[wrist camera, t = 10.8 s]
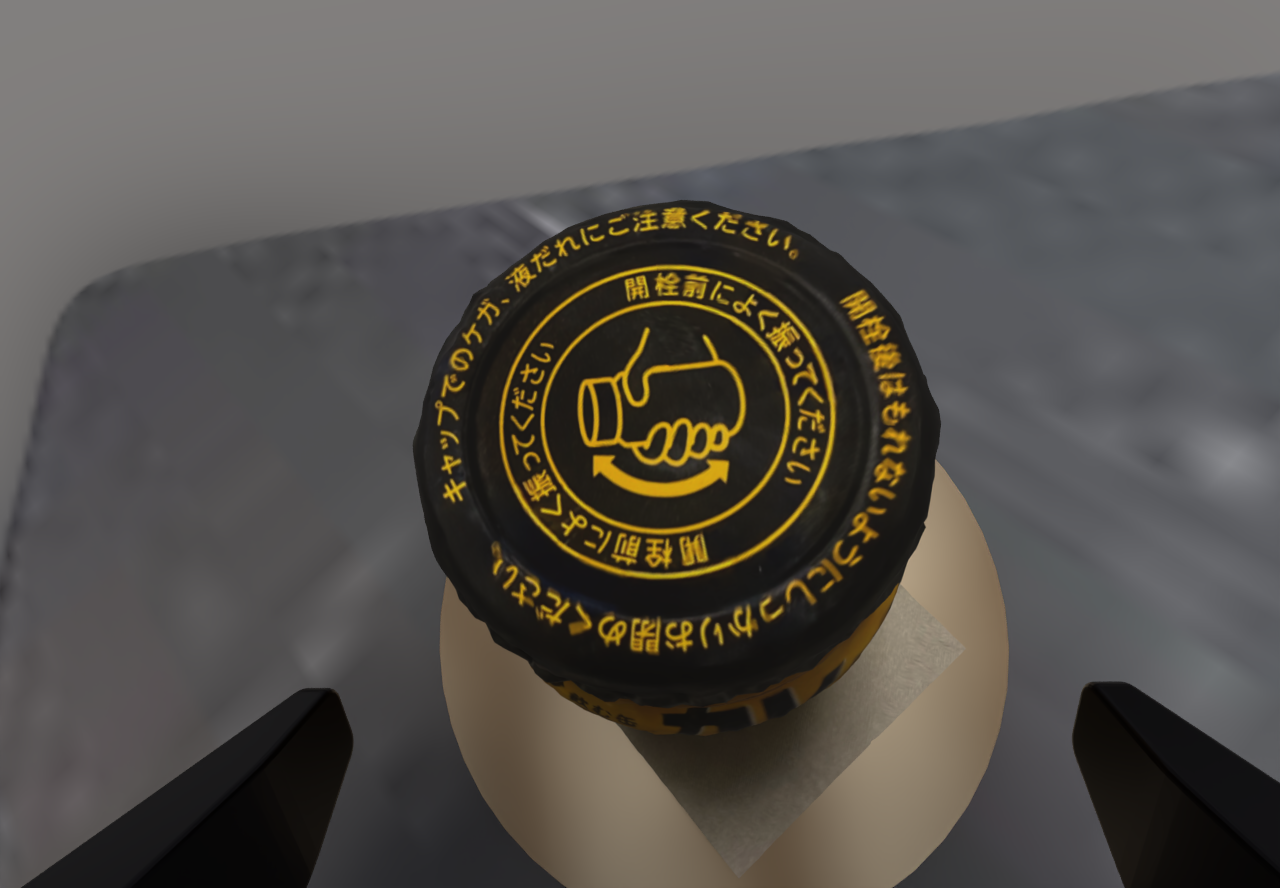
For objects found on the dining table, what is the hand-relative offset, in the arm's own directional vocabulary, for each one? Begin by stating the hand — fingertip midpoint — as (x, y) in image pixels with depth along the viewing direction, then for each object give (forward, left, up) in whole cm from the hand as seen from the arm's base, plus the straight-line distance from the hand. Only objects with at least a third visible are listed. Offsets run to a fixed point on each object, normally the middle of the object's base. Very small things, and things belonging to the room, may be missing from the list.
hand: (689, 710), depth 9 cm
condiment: (+1, +2, -9) cm, 9 cm away
